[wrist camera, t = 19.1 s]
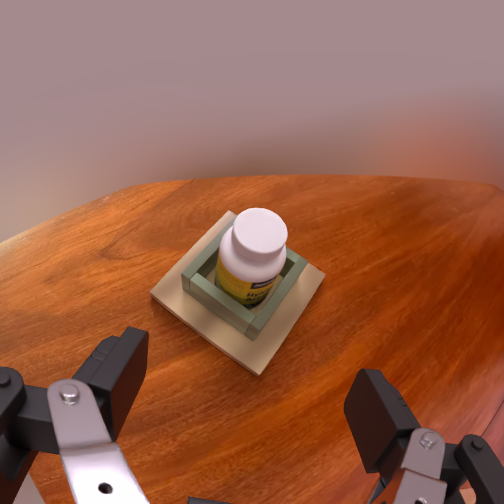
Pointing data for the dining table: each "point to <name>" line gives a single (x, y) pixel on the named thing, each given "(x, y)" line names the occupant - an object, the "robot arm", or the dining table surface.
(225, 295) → the holder
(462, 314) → the dining table surface
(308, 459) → the dining table surface
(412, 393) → the dining table surface
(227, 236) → the supplement bottle
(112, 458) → the robot arm
